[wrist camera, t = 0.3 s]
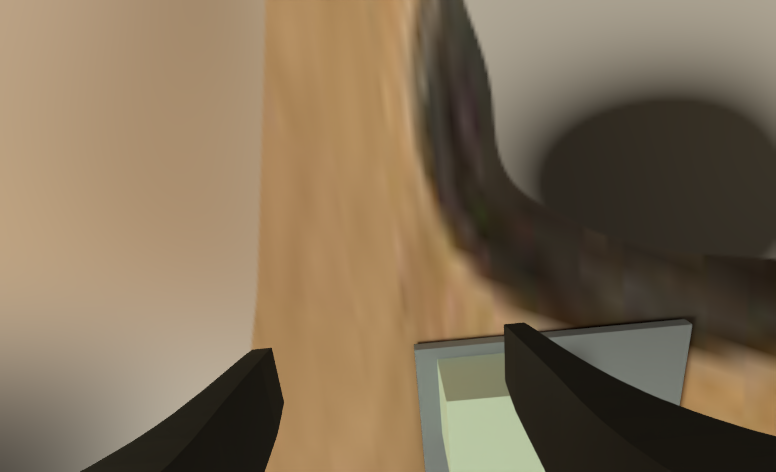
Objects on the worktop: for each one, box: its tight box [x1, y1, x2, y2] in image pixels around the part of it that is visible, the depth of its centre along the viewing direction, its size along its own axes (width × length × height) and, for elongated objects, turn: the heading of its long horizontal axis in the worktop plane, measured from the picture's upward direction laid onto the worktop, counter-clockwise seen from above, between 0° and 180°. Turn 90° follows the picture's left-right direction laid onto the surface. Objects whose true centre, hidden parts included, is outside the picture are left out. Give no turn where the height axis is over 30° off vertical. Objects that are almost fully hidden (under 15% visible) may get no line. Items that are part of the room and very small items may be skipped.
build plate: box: [414, 319, 692, 472], centre depth 25 cm, size 15×16×1 cm
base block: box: [437, 353, 545, 472], centre depth 22 cm, size 6×6×4 cm
